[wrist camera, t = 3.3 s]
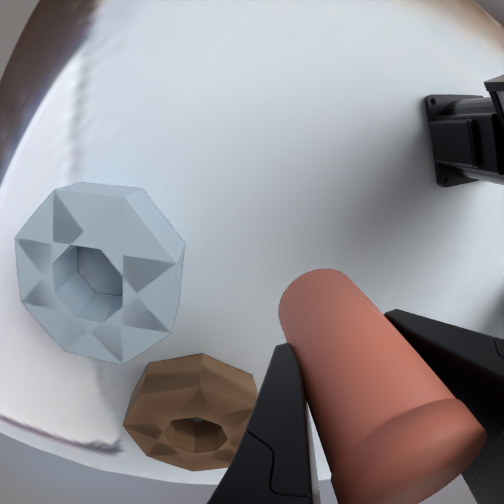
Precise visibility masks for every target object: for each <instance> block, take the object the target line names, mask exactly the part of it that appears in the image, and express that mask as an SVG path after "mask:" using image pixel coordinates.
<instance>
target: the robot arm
mask: <svg viewBox="0 0 504 504" xmlns="http://www.w3.org/2000/svg"><path fill="white" fill-rule="evenodd" d="M484 84H485V87H486V90H487V91H489V94H490V96H491V97H486V98H484V97H483V96H476V95H428V96H426V97H425V106H426V111H427V116H428V122H429V127H430V133H431V139H432V146H433V153H434V160H435V168H436V177H437V183H438V185H439V186H441V187H450V186H454V185H459V184H464V183H469V182H473V181H478V180H483V181H488V182H492V183H497V184H501V185H504V75H502V76H499V77H496V78H493V79H491V80H488V81H485V82H484ZM431 100H432V102H433V104H431ZM443 178H444V182H443ZM384 316H385V317H386V318H387V319H388V320H389V322H390V323H391V324H392V325H393V326H394V327H395V328H396V329H397V330H398V332H399V333H400V334H401V335H402V336H403V337H404V338H405V339H406V340H407V342H408V343H409V344H410V345H411V346H412V347H413V348H414V350H415V351H416V352H417V353H418V354H419V355H420V356H421V358H422V359H423V360H424V361H425V362H426V363H427V365H428V366H429V367H430V368H431V369H432V370H433V372H434V373H435V374H436V375H437V376H438V377H439V379H440V380H441V381H442V382H443V383H444V385H445V386H446V387H447V388H448V389H449V391H450V392H451V393H452V394H453V395H454V397H455V398H456V399H458V400H460V401H462V402H463V403H464V405H465V406H466V407H467V408H468V409H469V411H470V412H471V413H472V414H473V416H474V417H475V418H476V419H477V421H478V422H479V423H480V424H481V426H482V427H483V428H484V429H485V431H486V433H487V437H486V441H485V443H484V445H483V447H482V449H481V451H480V452H479V454H478V455H477V456H476V458H475V459H474V460H473V461H472V462H471V464H470V465H469V466H468V467H467V468H466V469H465V470H464V471H463V472H462V473H461V474H462V476H463V478H464V480H465V481H466V483H467V485H468V486H469V489H470V491H471V492H472V494H473V496H474V498H475V500H476V502H477V504H504V339H500V338H497V337H494V338H493V337H492V336H489V335H486V334H482V333H478V332H475V331H471V330H468V329H464V328H461V327H457V326H454V325H450V324H447V323H443V322H440V321H436V320H433V319H430V318H426V317H423V316H419V315H416V314H412V313H409V312H405V311H402V310H399V309H394V310H392V311H389V312H386V313H385V314H384ZM207 504H321V502H320V493H319V484H318V476H317V468H316V460H315V452H314V444H313V437H312V429H311V422H310V416H309V411H308V405H307V400H306V395H305V390H304V384H303V379H302V374H301V369H300V366H299V363H298V360H297V358H296V355H295V353H294V350H293V348H292V345H291V344H290V343H285V344H281V345H277V346H276V347H275V349H274V352H273V355H272V358H271V361H270V364H269V367H268V370H267V372H266V375H265V378H264V381H263V384H262V386H261V389H260V392H259V395H258V397H257V400H256V403H255V406H254V408H253V411H252V414H251V416H250V419H249V422H248V424H247V427H246V430H245V433H244V434H243V437H242V440H241V442H240V445H239V447H238V449H237V451H236V454H235V456H234V458H233V460H232V462H231V464H230V466H229V467H228V469H227V471H226V473H225V475H224V476H223V478H222V480H221V481H220V483H219V485H218V486H217V488H216V490H215V491H214V493H213V494H212V496H211V497H210V499H209V500H208V502H207Z"/></svg>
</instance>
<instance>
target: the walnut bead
mask: <svg viewBox="0 0 504 504" xmlns="http://www.w3.org/2000/svg"><path fill="white" fill-rule="evenodd" d="M258 395H259V394H258V391H257V388H256V385H255V382H254V379H253V376H252V374H249V373H247V372H244V371H242V370H240V369H237V368H235V367H232V366H230V365H228V364H225V363H223V362H221V361H218V360H216V359H214V358H212V357H209V356H207V355H205V354H203V353H201V354H196V355H191V356H186V357H180V358H175V359H169V360H163V361H157V362H151V363H149V364H148V366H147V368H146V370H145V372H144V373H143V375H142V377H141V379H140V381H139V382H138V384H137V386H136V388H135V390H134V392H133V394H132V396H131V399H130V402H129V406H128V409H127V412H126V416H125V419H124V423H123V426H124V428H125V429H126V430H127V432H128V433H129V434H130V436H131V437H132V438H133V439H134V441H135V442H136V443H137V445H138V446H139V447H140V448H141V449H142V451H143V452H144V453H145V454H146V456H148V457H151V458H154V459H156V460H159V461H162V462H165V463H168V464H171V465H174V466H177V467H180V468H183V469H187V470H190V471H202V470H212V469H220V468H228V467H229V466H230V464H231V462H232V460H233V458H234V456H235V454H236V451H237V449H238V447H239V445H240V442H241V440H242V437H243V434H244V433H245V430H246V427H247V424H248V422H249V419H250V416H251V414H252V411H253V408H254V406H255V403H256V400H257V397H258ZM193 417H199V418H201V419H204V420H207V421H202V422H194V421H191V420H188V419H186V418H193Z"/></svg>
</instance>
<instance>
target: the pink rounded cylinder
mask: <svg viewBox="0 0 504 504" xmlns="http://www.w3.org/2000/svg"><path fill="white" fill-rule="evenodd" d="M279 319H280V323H281V326H282V329H283V332H284V335H285V337H286V340H287V343H290V344H291V345H292V348H293V350H294V353H295V355H296V358H297V360H298V363H299V366H300V369H301V374H302V379H303V384H304V390H305V395H306V400H307V403H308V406H309V409H310V412H311V415H312V418H313V420H314V423H315V426H316V429H317V432H318V435H319V438H320V441H321V444H322V447H323V450H324V453H325V456H326V459H327V462H328V465H329V468H330V471H331V474H332V476H331V483H332V486H333V489H334V492H335V495H336V498H337V501H338V504H418V503H420V502H422V501H424V500H425V499H427V498H429V497H430V496H432V495H433V494H435V493H437V492H438V491H439V490H441V489H442V488H444V487H445V486H446V485H448V484H449V483H450V482H451V481H453V480H454V479H455V478H456V477H457V476H458V475H459V474H461V473H462V472H463V471H464V470H465V469H466V468H467V467H468V466H469V465H470V464H471V462H472V461H473V460H474V459H475V458H476V456H477V455H478V454H479V452H480V451H481V449H482V447H483V445H484V443H485V441H486V437H487V433H486V431H485V429H484V428H483V427H482V426H481V424H480V423H479V422H478V421H477V419H476V418H475V417H474V416H473V414H472V413H471V412H470V411H469V409H468V408H467V407H466V406H465V405H464V403H463V402H462V401H460V400H458V399H456V398H455V397H454V395H453V394H452V393H451V392H450V391H449V389H448V388H447V387H446V386H445V385H444V383H443V382H442V381H441V380H440V379H439V377H438V376H437V375H436V374H435V373H434V372H433V370H432V369H431V368H430V367H429V366H428V365H427V363H426V362H425V361H424V360H423V359H422V358H421V356H420V355H419V354H418V353H417V352H416V351H415V350H414V348H413V347H412V346H411V345H410V344H409V343H408V342H407V340H406V339H405V338H404V337H403V336H402V335H401V334H400V333H399V332H398V330H397V329H396V328H395V327H394V326H393V325H392V324H391V323H390V322H389V320H388V319H387V318H386V317H385V316H384V315H383V314H382V313H381V312H380V311H379V310H378V308H377V307H376V306H375V305H374V304H373V303H372V302H371V301H370V300H369V299H368V298H367V297H366V296H365V295H364V293H363V292H362V291H361V290H360V289H359V288H358V287H357V286H356V285H355V284H354V283H353V282H352V281H351V280H350V279H349V278H348V277H347V276H346V275H345V274H343V273H341V272H339V271H336V270H332V269H317V270H313V271H310V272H307V273H305V274H303V275H301V276H300V277H298V278H297V279H296V280H294V281H293V282H292V283H291V284H290V285H289V286H288V288H287V289H286V290H285V292H284V294H283V295H282V298H281V300H280V304H279Z"/></svg>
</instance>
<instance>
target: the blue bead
mask: <svg viewBox="0 0 504 504" xmlns="http://www.w3.org/2000/svg"><path fill="white" fill-rule="evenodd" d="M77 246H82V247H89V248H95V249H101V251H102V252H103V253H104V254H105V256H106V257H107V258H108V259H109V260H110V262H111V263H112V264H113V265H114V267H115V268H116V269H117V270H118V271H119V273H120V274H121V275H122V276H123V294H122V295H121V296H114V295H108V294H103V293H98V292H95V291H94V290H93V289H92V288H91V287H90V286H89V284H88V283H87V282H86V281H85V280H84V278H83V277H82V276H81V275H80V273H79V272H78V261H77ZM184 248H185V242H184V241H183V240H182V239H181V237H180V236H179V235H178V234H177V232H176V231H175V230H174V228H173V227H172V226H171V225H170V223H169V222H168V221H167V220H166V218H165V217H164V216H163V214H162V213H161V212H160V211H159V209H158V208H157V207H156V205H155V204H154V203H153V201H152V200H151V199H150V198H149V196H148V195H147V194H146V192H145V191H144V190H143V189H141V188H132V187H123V186H114V185H104V184H93V183H83V182H81V183H77V184H73V185H70V186H66V187H62V188H59V189H55V190H53V191H52V193H51V194H50V195H49V196H48V197H47V198H46V199H45V201H44V202H43V203H42V204H41V205H40V206H39V208H38V209H37V210H36V211H35V212H34V214H33V215H32V216H31V217H30V219H29V220H28V221H27V222H26V224H25V225H24V226H23V227H22V229H21V230H20V231H19V233H18V234H17V235H16V237H15V251H16V263H17V273H18V281H19V289H20V296H21V302H22V303H23V305H24V306H25V307H26V308H27V310H28V311H29V312H30V313H31V314H32V316H33V317H34V318H35V319H36V320H37V322H38V323H39V324H40V325H41V326H42V327H43V328H44V330H45V331H46V332H47V333H48V334H49V335H50V336H51V337H52V338H53V340H54V341H55V342H56V343H57V344H58V345H59V346H60V347H61V348H62V349H63V350H64V351H66V352H70V353H74V354H78V355H82V356H86V357H90V358H94V359H99V360H103V361H108V362H112V363H117V364H122V365H124V364H125V363H127V362H128V361H130V360H131V359H133V358H134V357H136V356H137V355H139V354H141V353H142V352H144V351H145V350H147V349H148V348H150V347H151V346H153V345H154V344H156V343H158V342H159V341H161V340H162V339H164V338H165V337H167V336H168V335H170V334H171V333H172V329H173V326H174V322H175V318H176V314H177V310H178V306H179V299H180V288H181V277H182V267H183V257H184Z"/></svg>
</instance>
